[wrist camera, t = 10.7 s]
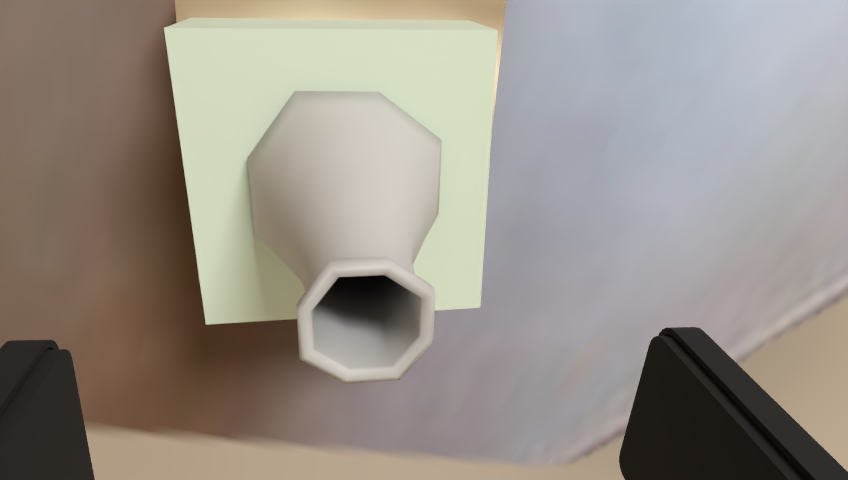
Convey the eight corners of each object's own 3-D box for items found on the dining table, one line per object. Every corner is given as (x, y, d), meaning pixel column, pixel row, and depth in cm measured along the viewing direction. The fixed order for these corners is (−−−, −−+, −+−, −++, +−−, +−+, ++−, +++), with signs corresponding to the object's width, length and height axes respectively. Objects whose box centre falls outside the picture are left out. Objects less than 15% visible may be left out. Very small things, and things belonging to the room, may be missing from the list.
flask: (405, 291, 25) (457, 474, 16) (223, 245, 23) (164, 425, 14) (471, 122, 23) (576, 225, 14) (275, 54, 21) (243, 122, 12)
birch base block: (194, -26, 27) (172, -25, 23) (480, -6, 29) (506, -2, 25) (213, 244, 32) (198, 283, 28) (456, 243, 34) (475, 280, 30)
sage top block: (190, 17, 24) (163, 28, 20) (469, 20, 25) (497, 30, 21) (222, 273, 28) (205, 324, 24) (458, 261, 30) (480, 307, 26)
